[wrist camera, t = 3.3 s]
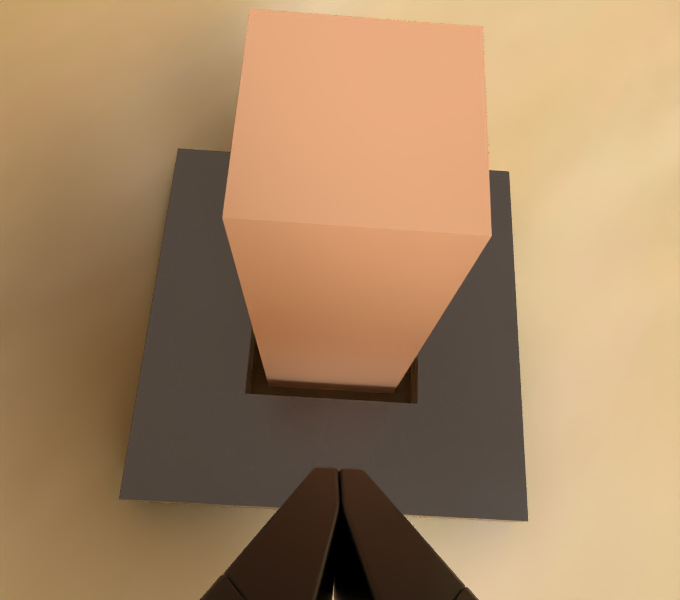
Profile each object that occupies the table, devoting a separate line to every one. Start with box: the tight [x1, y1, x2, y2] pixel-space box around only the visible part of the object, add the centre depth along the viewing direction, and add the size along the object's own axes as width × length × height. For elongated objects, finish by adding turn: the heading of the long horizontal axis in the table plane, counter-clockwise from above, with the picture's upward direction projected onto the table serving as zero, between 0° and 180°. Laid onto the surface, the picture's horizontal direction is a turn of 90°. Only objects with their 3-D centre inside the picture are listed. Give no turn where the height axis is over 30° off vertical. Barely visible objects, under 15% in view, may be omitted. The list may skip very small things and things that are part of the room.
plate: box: [119, 149, 528, 522], centre depth 21 cm, size 12×12×2 cm
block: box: [222, 9, 492, 394], centre depth 16 cm, size 4×4×12 cm
